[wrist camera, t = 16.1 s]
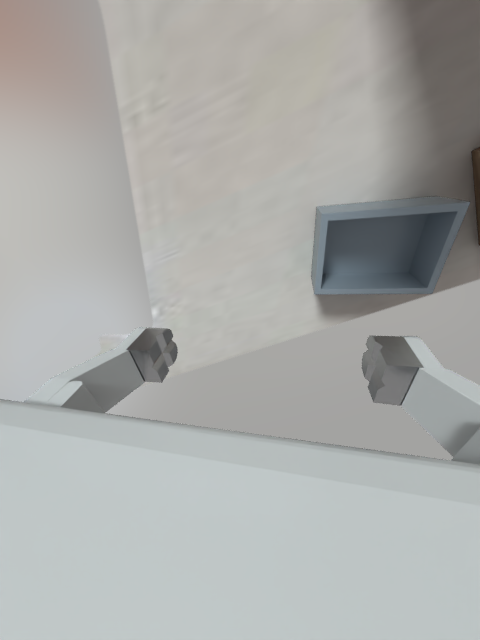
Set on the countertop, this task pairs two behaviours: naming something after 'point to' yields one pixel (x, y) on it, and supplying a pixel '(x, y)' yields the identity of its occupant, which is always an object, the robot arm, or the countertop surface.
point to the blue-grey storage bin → (384, 245)
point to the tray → (477, 185)
